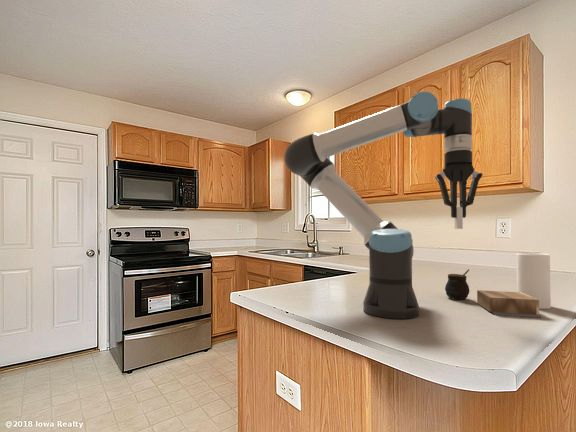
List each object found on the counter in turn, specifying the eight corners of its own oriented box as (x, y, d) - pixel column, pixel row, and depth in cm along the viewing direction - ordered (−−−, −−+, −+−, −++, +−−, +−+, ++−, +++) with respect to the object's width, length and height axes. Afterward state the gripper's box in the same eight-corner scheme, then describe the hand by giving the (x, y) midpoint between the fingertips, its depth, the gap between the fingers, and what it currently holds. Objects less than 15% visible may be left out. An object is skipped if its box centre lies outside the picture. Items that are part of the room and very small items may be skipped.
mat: (495, 314, 88) (495, 313, 88) (478, 303, 100) (478, 302, 100) (540, 317, 85) (540, 316, 85) (517, 305, 98) (517, 304, 98)
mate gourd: (440, 296, 110) (440, 267, 110) (460, 296, 111) (460, 267, 111) (453, 301, 103) (453, 270, 103) (475, 301, 104) (475, 270, 104)
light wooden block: (489, 297, 89) (538, 299, 87) (477, 290, 99) (520, 292, 96) (490, 311, 89) (539, 314, 87) (477, 303, 99) (521, 305, 96)
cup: (543, 303, 101) (542, 252, 101) (556, 309, 93) (554, 255, 93) (513, 301, 103) (512, 252, 104) (522, 307, 96) (521, 254, 96)
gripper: (437, 149, 95) (438, 228, 94) (486, 147, 92) (487, 229, 91) (432, 155, 102) (432, 228, 101) (477, 153, 99) (477, 228, 98)
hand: (458, 228), depth 96 cm, fingers closed
